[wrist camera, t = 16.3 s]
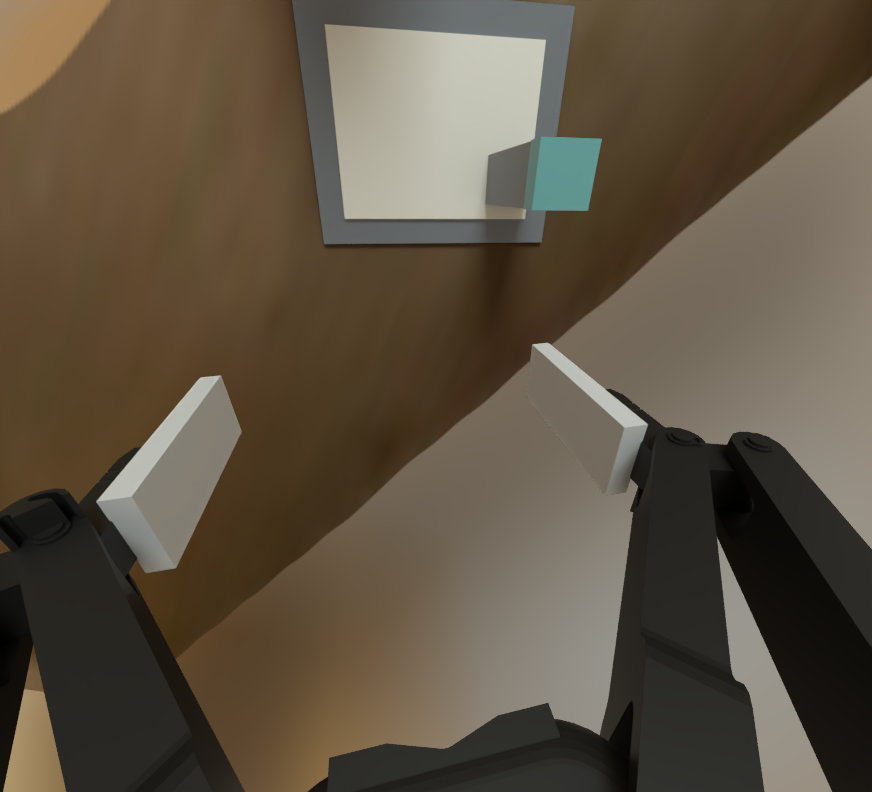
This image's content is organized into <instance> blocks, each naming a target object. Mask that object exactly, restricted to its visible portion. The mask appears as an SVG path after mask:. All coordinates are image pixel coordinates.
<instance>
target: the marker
mask: <svg viewBox="0 0 872 792" xmlns="http://www.w3.org/2000/svg"><path fill="white" fill-rule="evenodd" d="M601 140H602V139H593V138H565V137H539V138H535V139H532V140H531V141H530V142H527V143H524V144H521V145H518V146H515V147H512V148H509V149H506V150H503V151H499V152H496V153H493V154H490V155H489V156H488V170H487V185H486V199H485V204H488V205H497V206H507V207H516V208H523V209H526V210H583V211H588V207H589V202H590V197H591V192H592V187H593V181H594V176H595V171H596V166H597V161H598V155H599V150H600V145H601Z"/></svg>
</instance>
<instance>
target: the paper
mask: <svg viewBox="0 0 872 792" xmlns="http://www.w3.org/2000/svg"><path fill="white" fill-rule="evenodd" d="M292 5H293V12H294V20H295V27H296V35H297V43H298V50H299V58H300V65H301V73H302V80H303V88H304V96H305V103H306V111H307V118H308V126H309V133H310V141H311V149H312V156H313V164H314V171H315V179H316V187H317V194H318V202H319V209H320V217H321V224H322V232H323V240H324V244H401V243H524V242H542V235H543V228H544V221H545V214H546V210H526V209H523V208H516V207H507V206H497V205H488V204H485V199H486V185H487V170H488V156H489V155H490V154H493V153H496V152H499V151H503V150H506V149H509V148H512V147H515V146H518V145H521V144H524V143H527V142H530V141H531V140H532V139H535V138H539V137H556V136H557V129H558V122H559V115H560V108H561V101H562V94H563V87H564V79H565V72H566V65H567V58H568V51H569V44H570V37H571V30H572V23H573V16H574V9H575V6H569V5H558V4H546V3H534V2H522V1H511V0H292Z"/></svg>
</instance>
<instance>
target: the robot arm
mask: <svg viewBox="0 0 872 792" xmlns="http://www.w3.org/2000/svg"><path fill="white" fill-rule="evenodd" d="M526 397H527V399H528V400H529V401H530V403H531V404H532V405H533V406H534V408H535V409H536V410H537V411H538V413H539V414H540V415H541V416H542V417H543V419H544V420H545V421H546V423H548V425H549V426H550V428H551V429H552V430H553V431H554V432H555V434H556V435H557V436H558V437H559V439H560V440H561V441H562V443H563V444H564V445H565V446H566V448H567V449H568V450H569V451H570V453H571V454H572V455H573V456H574V458H575V459H576V460H577V461H578V462H579V464H580V465H581V466H582V468H583V469H584V470H585V471H586V472H587V474H588V475H589V476H590V477H591V479H592V480H593V481H594V482H595V484H596V485H597V486H598V488H599V489H600V490H601V491H602V492H603V493H604V495H606V496H607V495H613V494H619V493H625V492H626V491H627V488H628V484H629V482H630V478H631V479H632V480H633V481H634V482H635V483H636V484H637V485H638V489H637V492H636V495H635V498H634V501H633V504H632V507H631V510H630V511H631V512H633V518H632V526H631V534H630V542H629V548H628V556H627V564H626V571H625V579H624V586H623V593H622V601H621V609H620V617H619V623H618V632H617V639H616V647H615V654H614V661H613V669H612V676H611V684H610V692H609V698H608V703H607V708H606V711H605V716H604V719H603V723H602V728H601V733H600V735H598V734H596V733H594V732H593V731H591V730H589V729H587V728H584V727H582V726H579V725H577V724H574V723H571V722H567V721H563V720H558V719H554V718H553V715H552V712H551V709H550V707H549V704H548V703H546V704H542V705H538V706H534V707H530V708H526V709H522V710H518V711H514V712H510V713H506V714H502V715H498V716H497V717H495V718H494V719H492V720H491V721H489V722H488V723H486V724H485V725H483V726H481V727H480V728H478V729H477V730H475V731H474V732H472V733H471V734H469V735H468V736H466V737H465V738H463V739H462V740H460V741H459V742H457V743H456V744H454V745H453V746H451V747H449V748H445V749H437V748H427V747H416V746H406V745H396V744H383V745H379V746H375V747H371V748H367V749H363V750H359V751H355V752H351V753H347V754H343V755H339V756H335V757H331V758H329V772H328V777H327V778H326V779H324V780H322V781H321V782H319V783H318V784H317V785H315V786H314V787H313V788H312V789H310V790H309V791H308V792H764V786H763V779H762V772H761V764H760V758H759V751H758V745H757V744H758V743H757V737H756V729H755V722H754V716H753V708H752V704H751V699H750V695H749V692H748V691H747V689H746V687H745V685H744V684H742V683H740V682H738V681H736V680H735V679H734V677H733V675H732V670H731V664H730V655H729V646H728V636H727V627H726V618H725V609H724V599H723V591H722V581H721V572H720V563H719V554H718V545H717V537H718V540H719V542H720V544H721V546H722V548H723V551H724V553H725V555H726V557H727V560H728V562H729V564H730V566H731V568H732V571H733V573H734V575H735V577H736V580H737V582H738V584H739V586H740V588H741V590H742V593H743V595H744V597H745V599H746V601H747V604H748V606H749V608H750V611H751V612H752V615H753V617H754V619H755V621H756V624H757V626H758V628H759V630H760V633H761V635H762V637H763V639H764V641H765V644H766V646H767V648H768V650H769V653H770V655H771V657H772V659H773V661H774V664H775V666H776V668H777V670H778V673H779V675H780V677H781V679H782V681H783V683H784V686H785V688H786V690H787V692H788V694H789V697H790V699H791V701H792V704H793V706H794V708H795V710H796V712H797V715H798V717H799V719H800V721H801V723H802V726H803V728H804V730H805V732H806V734H807V737H808V739H809V741H810V743H811V746H812V748H813V750H814V752H815V754H816V757H817V759H818V761H819V763H820V765H821V768H822V770H823V772H824V774H825V776H826V779H827V781H828V783H829V785H830V788H831V790H832V792H872V549H871V548H870V547H869V546H868V545H867V543H866V542H865V541H864V540H863V539H862V538H861V536H860V535H859V534H858V533H857V532H856V531H855V530H854V528H853V527H852V526H851V525H850V524H849V522H848V521H847V520H846V519H845V518H844V517H843V516H842V514H841V513H840V512H839V511H838V510H837V508H836V507H835V506H834V505H833V504H832V503H831V501H830V500H829V499H828V498H827V497H826V496H825V494H824V493H823V492H822V491H821V490H820V489H819V488H818V486H817V485H816V484H815V483H814V482H813V480H812V479H811V478H810V477H809V476H808V475H807V474H806V472H805V471H804V470H803V469H802V468H801V466H800V465H799V464H798V463H797V462H796V461H795V459H794V458H793V457H792V456H791V455H790V454H789V452H788V451H787V450H786V449H785V448H784V447H783V446H782V445H781V444H779V443H778V442H776V441H774V440H772V439H770V438H769V437H767V436H763V435H761V434H758V433H750V432H737V433H734V434H733V435H732V436H731V438H730V440H729V442H728V444H727V445H720V444H708V443H705V441H704V440H703V439H702V438H700V437H699V436H698V435H696V434H694V433H692V432H690V431H687V430H684V429H680V428H673V427H669V428H665V427H663V426H662V425H661V424H660V423H658V422H657V421H656V420H655V419H653V418H652V417H650V415H648V414H647V413H646V412H644V411H643V410H640V408H639V407H638V406H637V405H635V404H633V403H632V401H630V400H629V399H628V398H627V397H625V396H624V395H623V394H620V393H618V392H616V391H614V390H611V389H604V388H603V387H602V386H600V385H599V384H598V383H597V382H595V381H594V380H593V379H592V378H590V377H589V376H588V375H587V374H586V373H584V372H583V371H582V370H581V369H580V368H578V367H577V366H576V365H575V364H573V363H572V362H571V361H570V360H568V359H567V358H566V357H565V356H564V355H562V354H561V353H560V352H559V351H558V350H556V349H555V348H554V347H553V346H551V345H550V344H549V343H542V344H532V351H531V360H530V369H529V378H528V387H527V396H526ZM240 434H241V429H240V426H239V423H238V421H237V418H236V415H235V412H234V410H233V407H232V404H231V402H230V399H229V396H228V393H227V391H226V388H225V385H224V382H223V380H222V377H221V376H211V377H201V378H200V379H199V380H198V381H197V382H196V383H195V384H194V386H193V387H192V388H191V389H190V390H189V392H188V393H187V394H186V395H185V396H184V398H183V399H182V400H181V401H180V402H179V404H178V405H177V406H176V407H175V408H174V409H173V411H172V412H171V413H170V414H169V415H168V417H167V418H166V419H165V420H164V421H163V423H162V424H161V425H160V426H159V427H158V429H157V430H156V431H155V432H154V433H153V434H152V436H151V437H150V438H149V439H148V440H147V442H146V443H145V444H144V445H143V446H142V447H139V448H134V449H132V450H131V451H130V452H128V453H127V454H125V455H124V456H122V457H121V458H119V459H118V460H117V461H116V462H115V464H114V465H113V466H112V467H111V468H110V469H109V470H108V473H106V474H105V475H104V476H103V477H102V478H101V479H100V480H99V481H100V482H99V483H97V484H96V485H95V486H94V487H93V488H92V489H91V491H90V492H89V493H88V494H87V495H86V496H85V497H84V498H83V500H82V501H81V502H80V503H79V504H77V502H76V501H75V500H74V498H73V497H72V496H71V494H70V493H69V492H68V491H66V490H65V489H50V490H45V491H41V492H38V493H35V494H32V495H29V496H27V497H25V498H23V499H21V500H19V501H17V502H15V503H13V504H11V505H10V506H8V507H7V508H6V509H4V510H3V511H1V512H0V539H1V540H2V541H3V542H4V544H5V545H6V546H7V547H8V548H9V549H10V550H11V551H8V552H5V553H2V554H0V792H3V788H4V784H5V779H6V774H7V769H8V765H9V760H10V755H11V750H12V745H13V740H14V735H15V731H16V725H17V721H18V716H19V711H20V706H21V701H22V696H23V691H24V687H25V682H26V677H27V672H28V667H29V662H30V657H31V653H32V648H33V644H34V649H35V653H36V657H37V662H38V666H39V671H40V675H41V680H42V684H43V689H44V693H45V698H46V702H47V707H48V711H49V716H50V720H51V725H52V729H53V733H54V738H55V743H56V747H57V752H58V756H59V761H60V765H61V770H62V774H63V778H64V783H65V788H66V792H245V791H244V789H243V787H242V785H241V783H240V781H239V780H238V778H237V776H236V774H235V772H234V770H233V768H232V766H231V764H230V762H229V760H228V759H227V757H226V755H225V753H224V751H223V749H222V747H221V745H220V743H219V741H218V740H217V738H216V736H215V734H214V732H213V730H212V728H211V726H210V724H209V722H208V720H207V719H206V717H205V715H204V713H203V711H202V709H201V707H200V705H199V703H198V701H197V700H196V698H195V696H194V694H193V692H192V690H191V688H190V686H189V684H188V682H187V681H186V679H185V677H184V675H183V673H182V671H181V669H180V667H179V665H178V663H177V661H176V660H175V658H174V656H173V654H172V652H171V650H170V648H169V646H168V644H167V642H166V641H165V639H164V637H163V635H162V633H161V631H160V629H159V627H158V625H157V623H156V622H155V620H154V618H153V616H152V614H151V612H150V610H149V608H148V606H147V604H146V602H145V601H144V599H143V597H142V595H141V593H140V591H139V589H138V587H137V585H136V583H135V582H134V580H133V578H132V577H131V576H130V574H129V571H130V569H131V568H132V566H133V564H134V563H135V561H136V560H137V561H138V563H139V564H140V565H141V567H142V568H143V570H144V571H145V573H149V572H155V571H161V570H167V569H173V568H176V567H177V565H178V563H179V560H180V558H181V556H182V554H183V552H184V550H185V548H186V546H187V544H188V542H189V540H190V538H191V536H192V534H193V531H194V529H195V527H196V525H197V523H198V521H199V519H200V517H201V515H202V513H203V511H204V509H205V507H206V505H207V502H208V500H209V498H210V496H211V494H212V492H213V490H214V488H215V486H216V484H217V482H218V480H219V478H220V476H221V473H222V471H223V469H224V467H225V465H226V463H227V461H228V459H229V457H230V455H231V453H232V451H233V449H234V447H235V445H236V442H237V440H238V438H239V436H240Z"/></svg>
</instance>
